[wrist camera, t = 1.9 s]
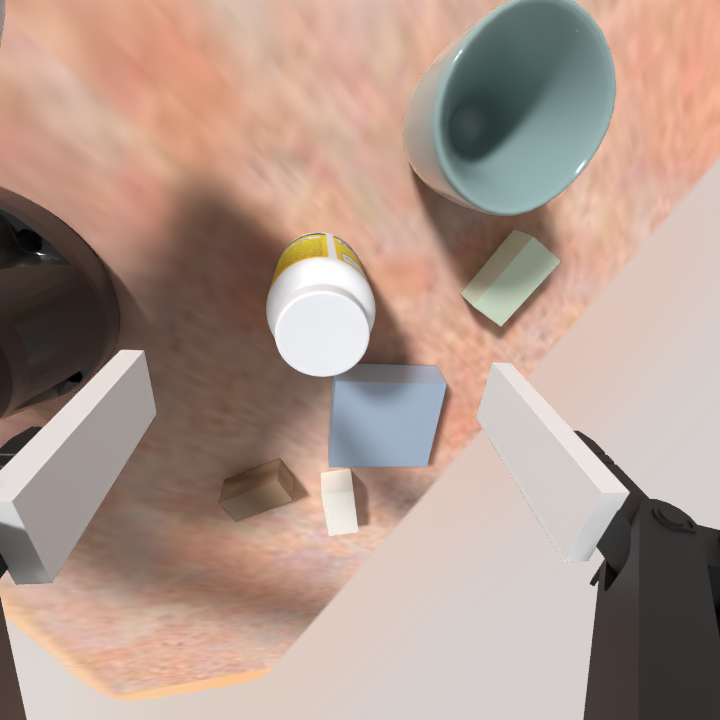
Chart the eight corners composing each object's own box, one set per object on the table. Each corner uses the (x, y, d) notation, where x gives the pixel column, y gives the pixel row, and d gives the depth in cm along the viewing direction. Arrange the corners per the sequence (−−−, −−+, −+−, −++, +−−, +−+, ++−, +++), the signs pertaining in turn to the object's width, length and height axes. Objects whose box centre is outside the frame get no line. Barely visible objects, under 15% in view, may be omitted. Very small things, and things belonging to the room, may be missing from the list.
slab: (328, 444, 36) (329, 467, 33) (333, 362, 32) (335, 381, 29) (419, 444, 37) (426, 466, 35) (436, 365, 33) (446, 384, 30)
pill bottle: (271, 303, 29) (249, 380, 19) (284, 220, 26) (266, 261, 16) (350, 319, 30) (366, 398, 20) (370, 242, 27) (400, 291, 18)
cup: (532, 122, 25) (651, 106, 16) (447, 219, 27) (510, 250, 18) (454, 17, 22) (548, -73, 13) (366, 137, 24) (395, 128, 15)
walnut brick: (241, 496, 38) (236, 522, 36) (225, 478, 37) (218, 503, 34) (294, 476, 38) (292, 500, 35) (280, 456, 36) (277, 480, 34)
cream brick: (355, 507, 41) (358, 531, 38) (328, 511, 41) (329, 536, 38) (350, 467, 38) (353, 490, 35) (321, 471, 38) (321, 495, 35)
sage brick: (485, 312, 31) (500, 326, 29) (459, 292, 30) (473, 306, 27) (538, 251, 29) (560, 261, 26) (513, 228, 28) (533, 236, 25)
